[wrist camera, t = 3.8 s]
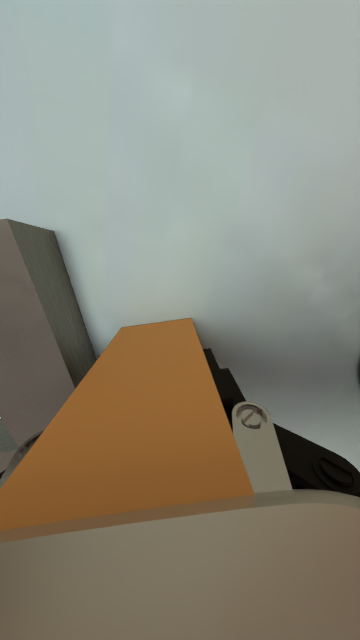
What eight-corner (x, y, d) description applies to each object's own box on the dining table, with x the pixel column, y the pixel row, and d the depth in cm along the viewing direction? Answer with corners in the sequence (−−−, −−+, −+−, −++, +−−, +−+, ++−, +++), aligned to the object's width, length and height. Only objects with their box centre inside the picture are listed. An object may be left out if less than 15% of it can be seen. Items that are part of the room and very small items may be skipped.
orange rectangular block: (191, 318, 12) (260, 511, 3) (197, 376, 14) (256, 623, 4) (121, 327, 12) (-51, 555, 3) (136, 384, 14) (61, 652, 4)
